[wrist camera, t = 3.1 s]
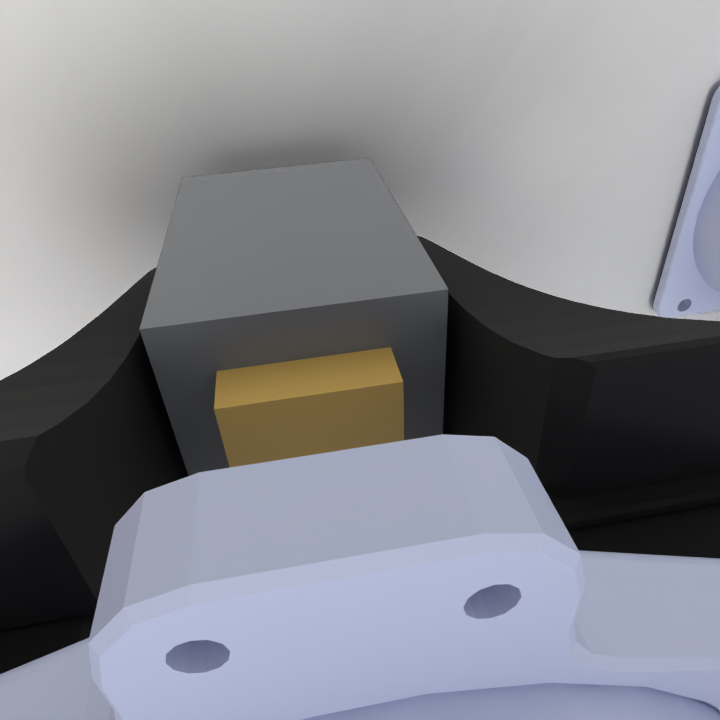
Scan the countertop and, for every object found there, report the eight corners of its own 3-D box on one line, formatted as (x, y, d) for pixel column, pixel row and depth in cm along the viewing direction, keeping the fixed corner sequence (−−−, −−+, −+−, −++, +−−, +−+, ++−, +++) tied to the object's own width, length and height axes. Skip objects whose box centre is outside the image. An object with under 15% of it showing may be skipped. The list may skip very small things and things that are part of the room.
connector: (369, 157, 12) (466, 320, 7) (376, 315, 15) (453, 529, 9) (182, 177, 12) (129, 366, 7) (220, 336, 14) (204, 572, 9)
